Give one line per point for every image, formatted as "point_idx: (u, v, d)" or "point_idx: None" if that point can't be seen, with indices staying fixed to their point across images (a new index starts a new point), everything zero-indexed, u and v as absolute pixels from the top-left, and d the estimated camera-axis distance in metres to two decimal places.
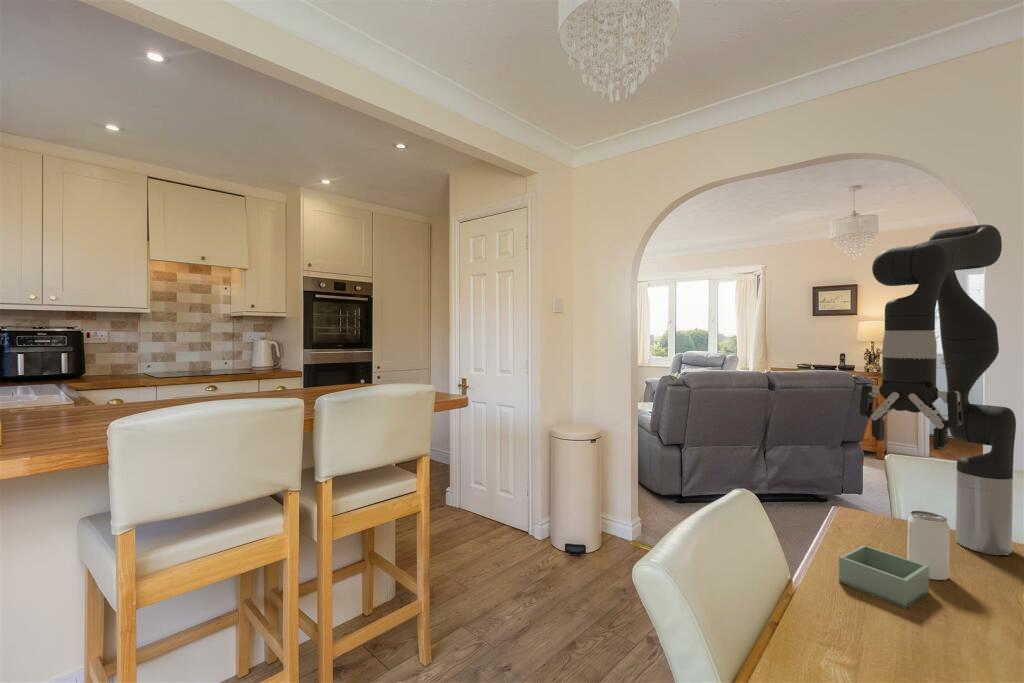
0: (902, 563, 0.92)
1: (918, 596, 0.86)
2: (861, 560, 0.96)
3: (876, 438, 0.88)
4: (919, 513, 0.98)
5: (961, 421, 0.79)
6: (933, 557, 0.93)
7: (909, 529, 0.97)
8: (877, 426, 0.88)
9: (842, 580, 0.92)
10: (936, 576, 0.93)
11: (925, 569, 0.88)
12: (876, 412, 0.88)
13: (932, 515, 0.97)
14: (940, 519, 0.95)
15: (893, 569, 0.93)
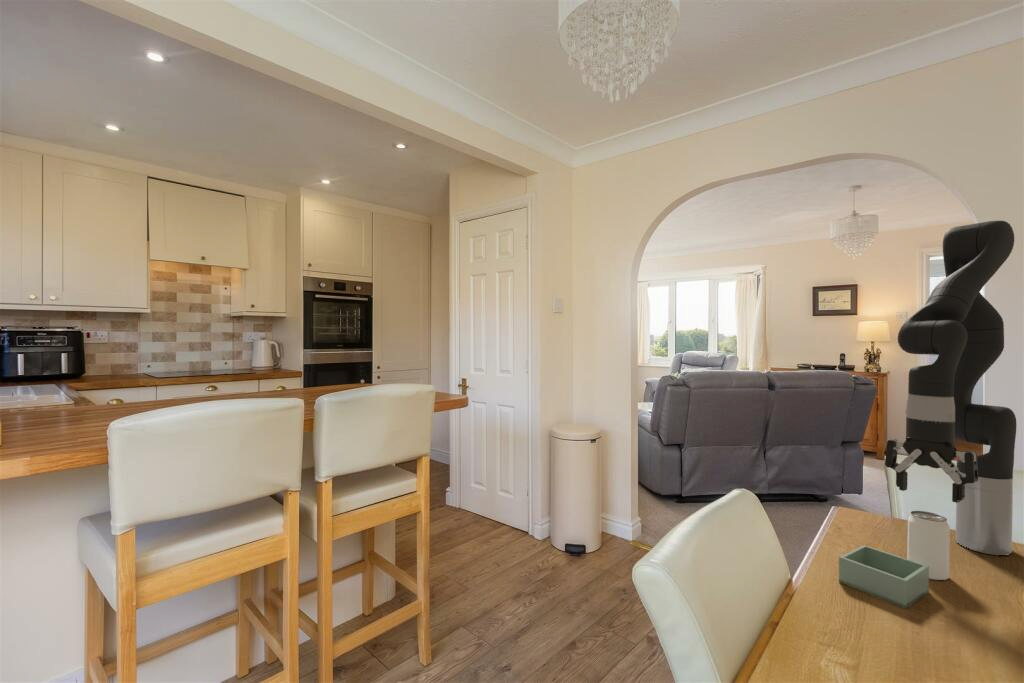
0: (902, 563, 0.92)
1: (918, 596, 0.86)
2: (861, 560, 0.96)
3: (900, 488, 0.99)
4: (919, 513, 0.98)
5: (977, 478, 0.91)
6: (933, 557, 0.93)
7: (909, 529, 0.97)
8: (901, 477, 0.99)
9: (842, 580, 0.92)
10: (936, 576, 0.93)
11: (925, 569, 0.88)
12: (900, 465, 0.99)
13: (932, 515, 0.97)
14: (940, 519, 0.95)
15: (893, 569, 0.93)
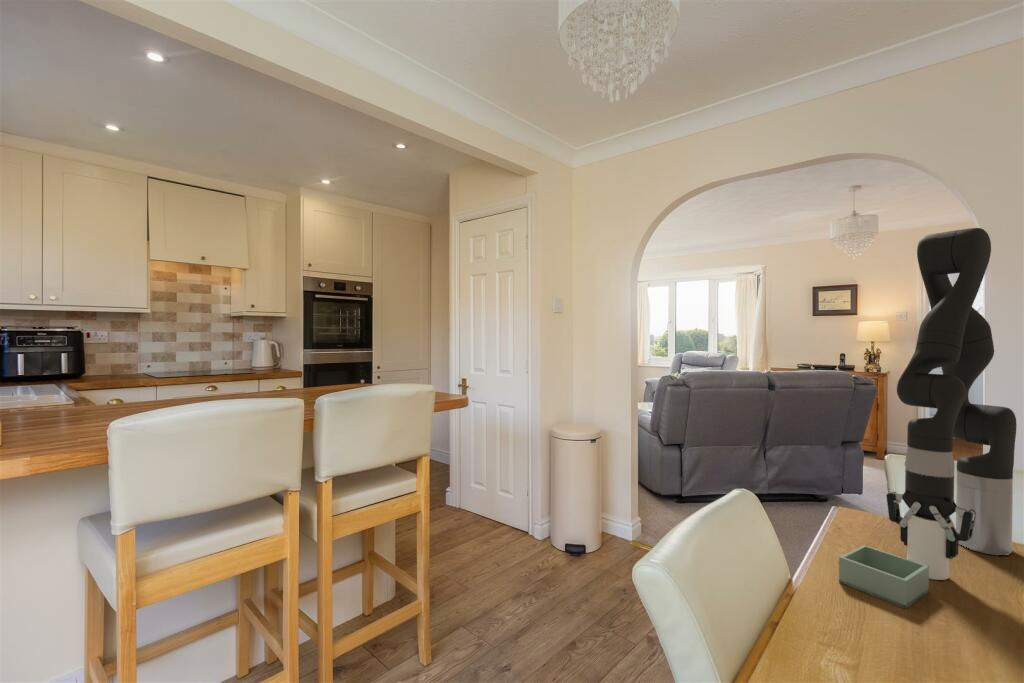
0: (902, 563, 0.92)
1: (918, 596, 0.86)
2: (861, 560, 0.96)
3: (904, 543, 0.99)
4: None
5: (970, 536, 0.91)
6: (933, 557, 0.93)
7: (909, 529, 0.97)
8: (905, 533, 0.99)
9: (842, 580, 0.92)
10: (936, 576, 0.93)
11: (925, 569, 0.88)
12: (904, 520, 0.99)
13: None
14: None
15: (893, 569, 0.93)
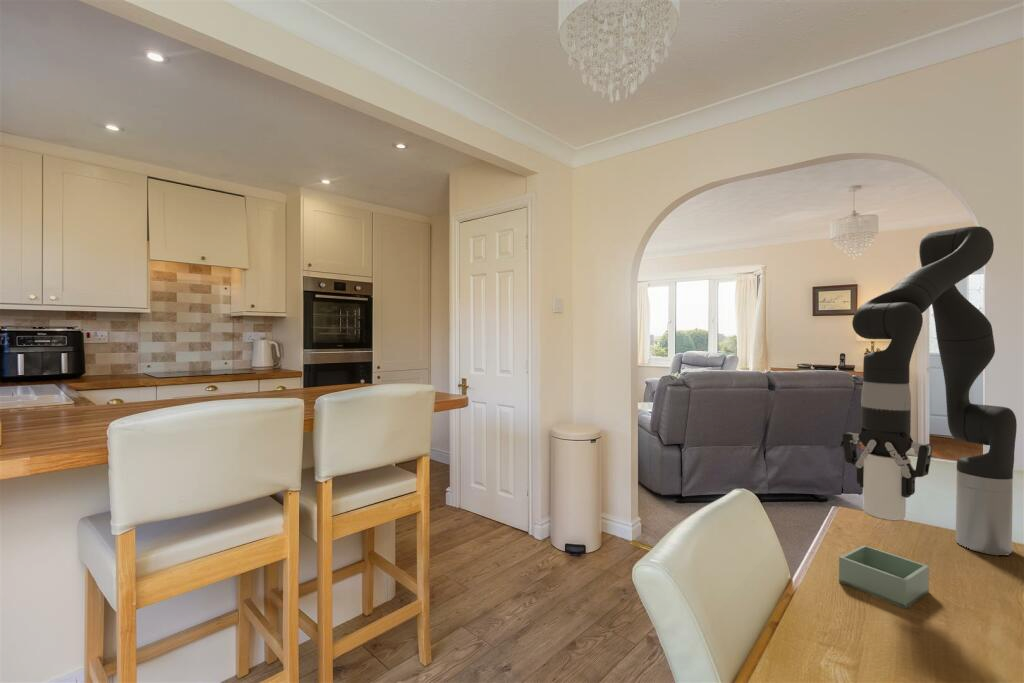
0: (902, 563, 0.92)
1: (918, 596, 0.86)
2: (861, 560, 0.96)
3: (860, 485, 0.93)
4: None
5: (927, 472, 0.86)
6: (888, 496, 0.88)
7: (864, 469, 0.92)
8: (861, 474, 0.93)
9: (842, 580, 0.92)
10: (891, 516, 0.88)
11: (925, 569, 0.88)
12: (860, 460, 0.93)
13: None
14: None
15: (893, 569, 0.93)
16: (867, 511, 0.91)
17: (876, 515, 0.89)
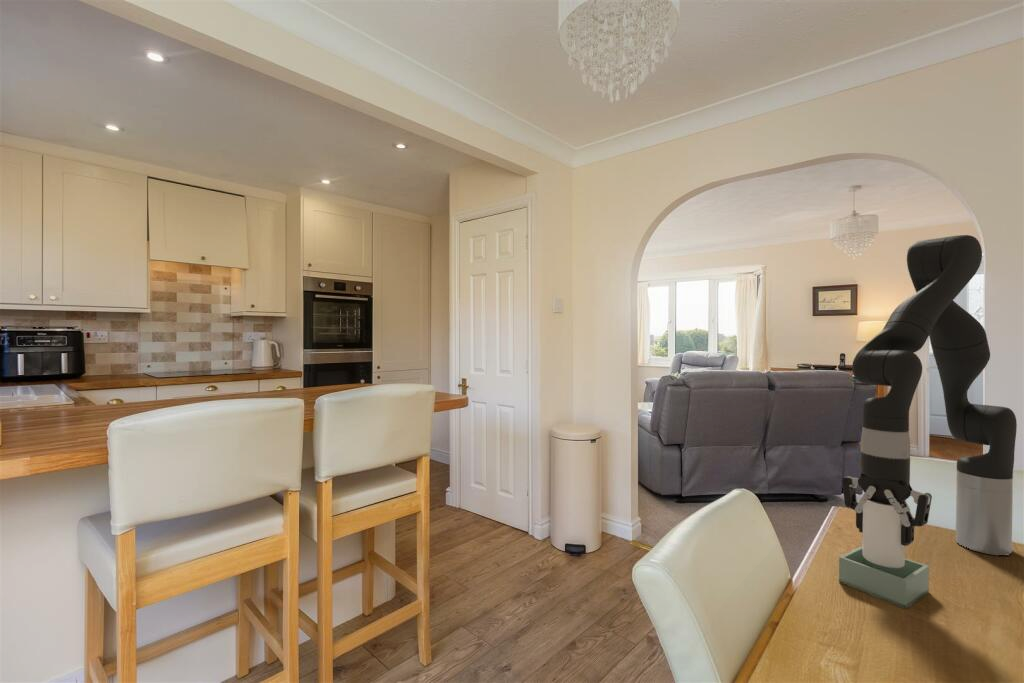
0: None
1: (918, 596, 0.86)
2: (861, 560, 0.96)
3: (860, 530, 0.93)
4: None
5: (926, 521, 0.86)
6: (887, 544, 0.88)
7: (864, 515, 0.92)
8: (861, 519, 0.93)
9: (842, 580, 0.92)
10: (890, 564, 0.88)
11: (925, 569, 0.88)
12: (860, 506, 0.93)
13: None
14: None
15: (893, 569, 0.93)
16: (866, 557, 0.91)
17: (875, 562, 0.89)
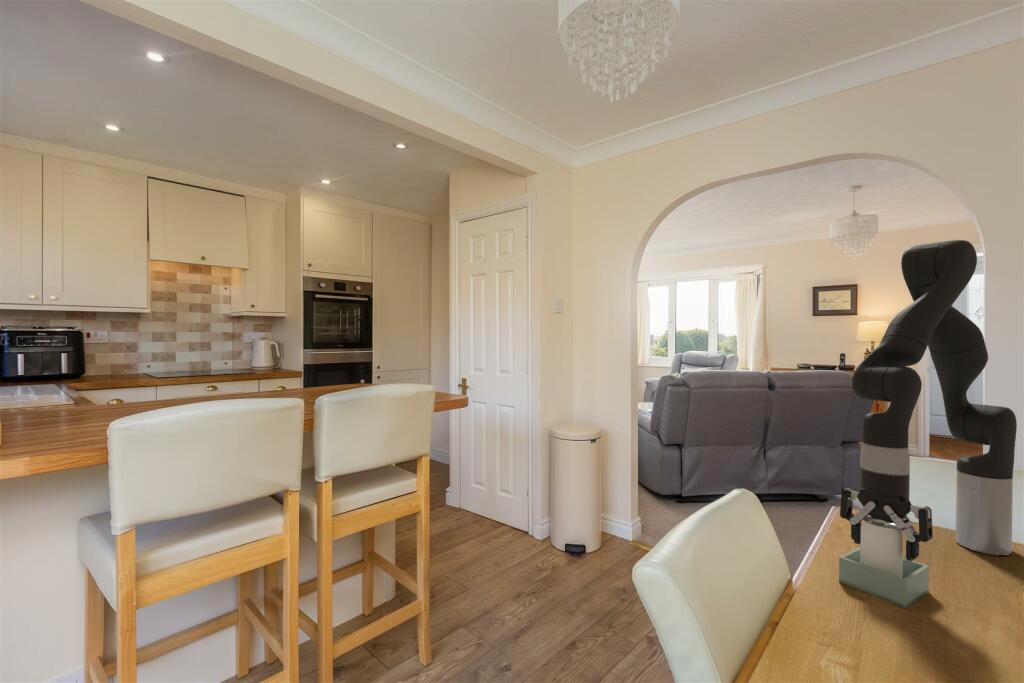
0: None
1: (918, 596, 0.86)
2: None
3: (855, 541, 0.94)
4: (873, 519, 0.93)
5: (931, 536, 0.85)
6: (885, 566, 0.88)
7: (861, 536, 0.92)
8: (856, 530, 0.94)
9: (842, 580, 0.92)
10: None
11: (925, 569, 0.88)
12: (855, 517, 0.94)
13: None
14: (893, 526, 0.90)
15: None
16: None
17: None
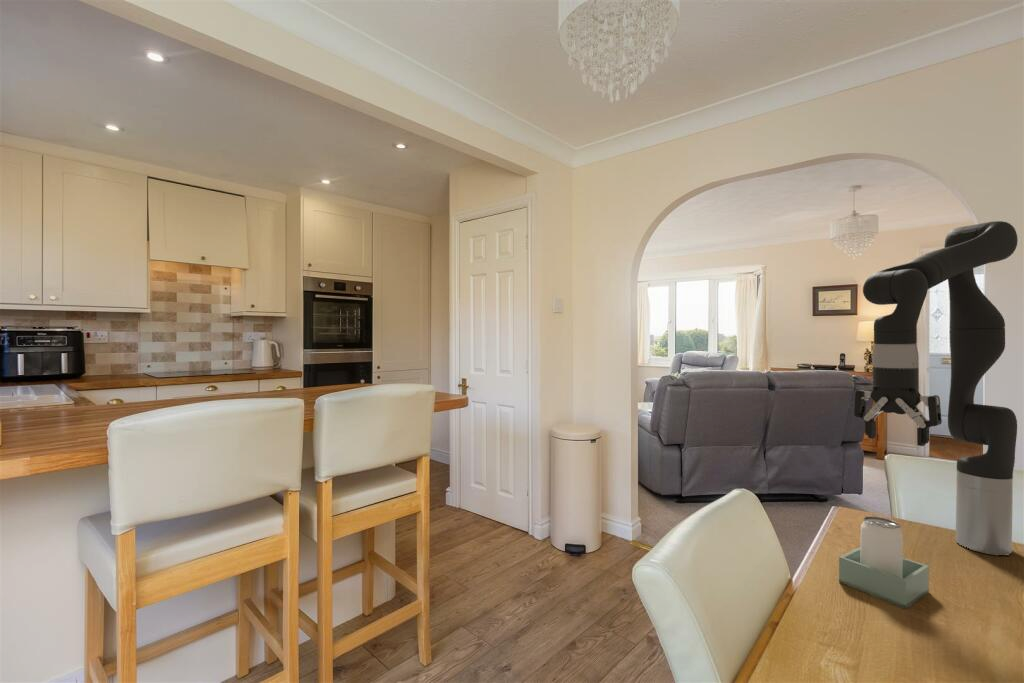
0: None
1: (918, 596, 0.86)
2: None
3: (869, 436, 1.02)
4: (873, 519, 0.93)
5: (940, 421, 0.93)
6: (885, 566, 0.88)
7: (861, 536, 0.92)
8: (869, 426, 1.02)
9: (842, 580, 0.92)
10: None
11: (925, 569, 0.88)
12: (868, 414, 1.02)
13: (886, 521, 0.92)
14: (893, 526, 0.90)
15: None
16: None
17: None
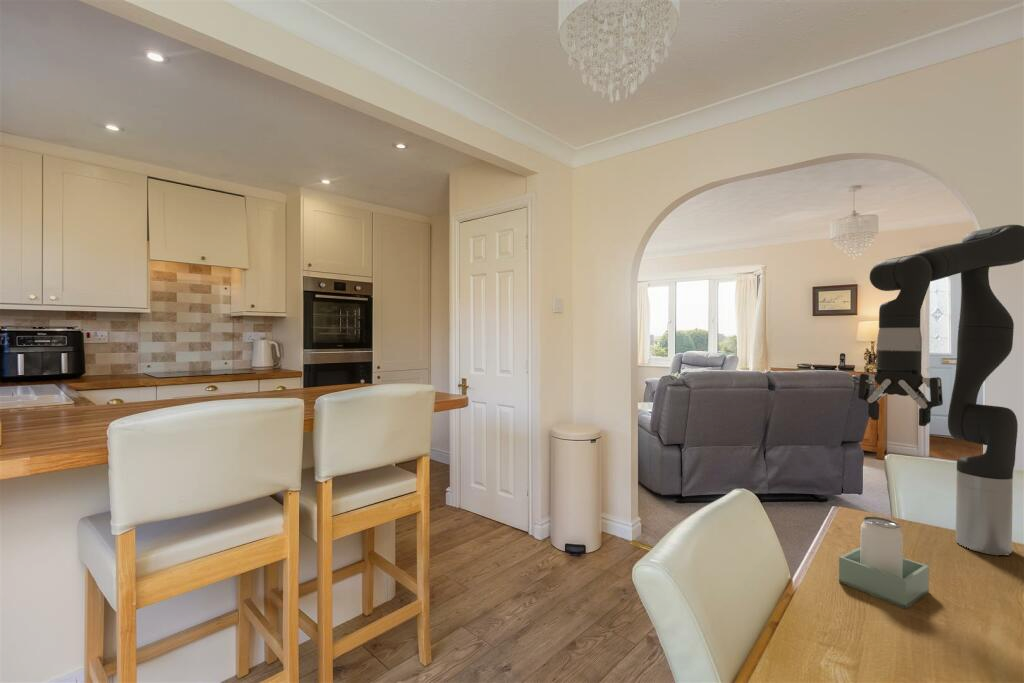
0: None
1: (918, 596, 0.86)
2: None
3: (872, 418, 1.05)
4: (873, 519, 0.93)
5: (941, 402, 0.97)
6: (885, 566, 0.88)
7: (861, 536, 0.92)
8: (873, 408, 1.05)
9: (842, 580, 0.92)
10: None
11: (925, 569, 0.88)
12: (872, 396, 1.05)
13: (886, 521, 0.92)
14: (893, 526, 0.90)
15: None
16: None
17: None
